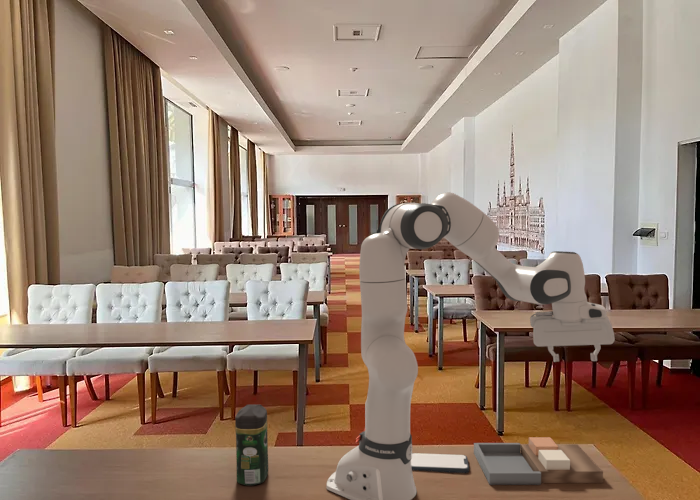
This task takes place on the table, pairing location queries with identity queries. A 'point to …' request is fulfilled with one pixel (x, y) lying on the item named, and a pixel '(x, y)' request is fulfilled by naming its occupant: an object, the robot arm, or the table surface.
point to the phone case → (440, 463)
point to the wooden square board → (579, 471)
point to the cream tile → (554, 460)
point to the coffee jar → (251, 445)
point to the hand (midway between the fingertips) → (575, 360)
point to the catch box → (505, 464)
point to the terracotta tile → (541, 444)
